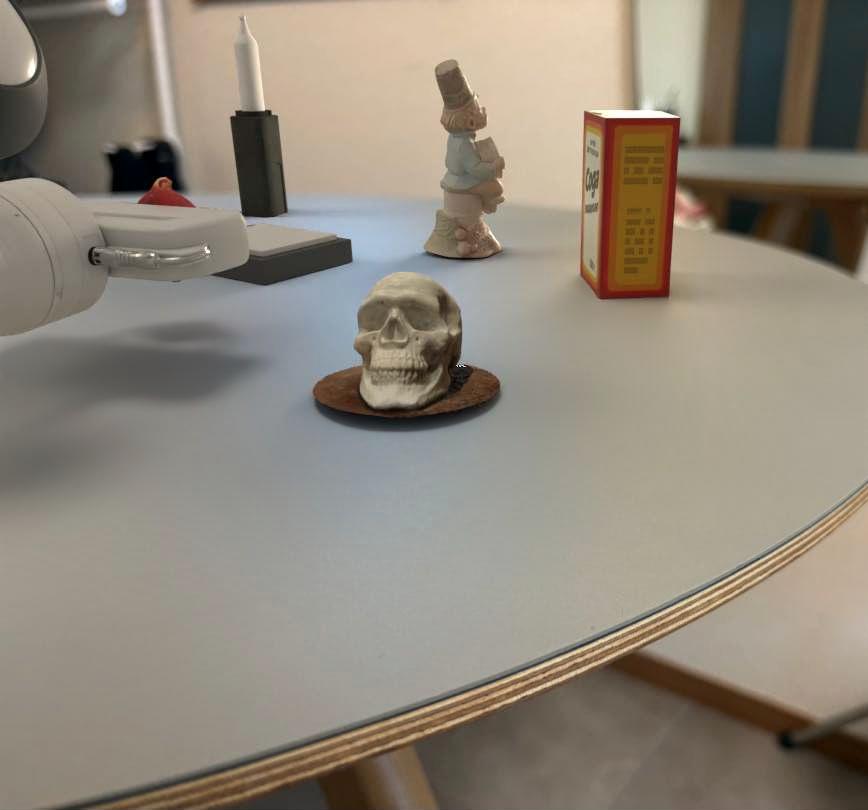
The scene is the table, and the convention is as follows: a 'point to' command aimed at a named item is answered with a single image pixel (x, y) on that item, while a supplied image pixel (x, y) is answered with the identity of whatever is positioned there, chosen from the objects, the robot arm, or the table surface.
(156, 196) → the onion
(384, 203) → the table surface
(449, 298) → the skull
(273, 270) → the scale
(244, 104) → the candle
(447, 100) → the figurine
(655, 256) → the baking soda box
